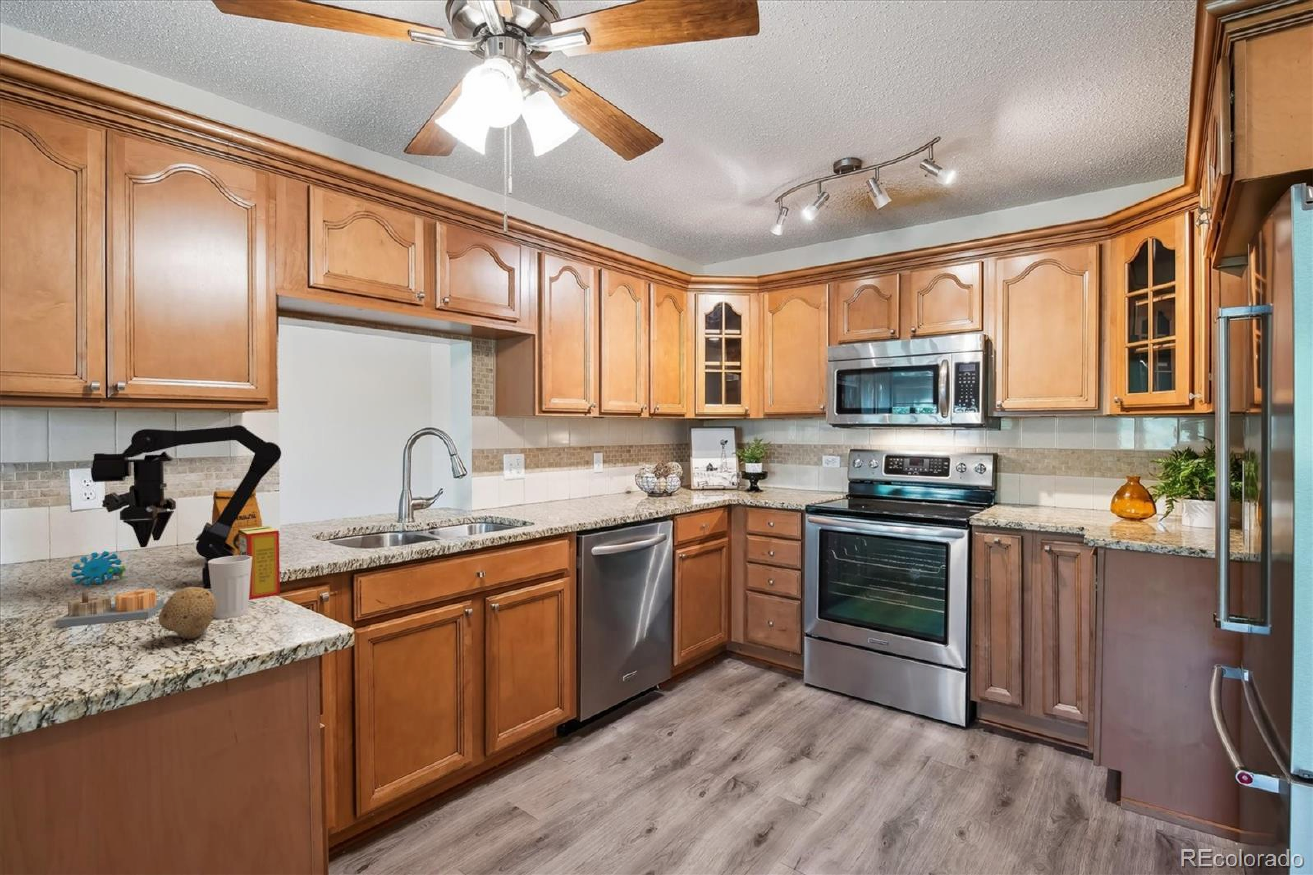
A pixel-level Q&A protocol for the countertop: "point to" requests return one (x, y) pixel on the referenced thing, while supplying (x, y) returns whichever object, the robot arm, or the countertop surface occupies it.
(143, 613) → the gear board
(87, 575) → the gear
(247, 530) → the baking soda box
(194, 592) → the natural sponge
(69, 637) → the countertop surface
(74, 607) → the birch gear
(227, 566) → the cup
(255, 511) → the coffee package
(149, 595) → the orange gear
